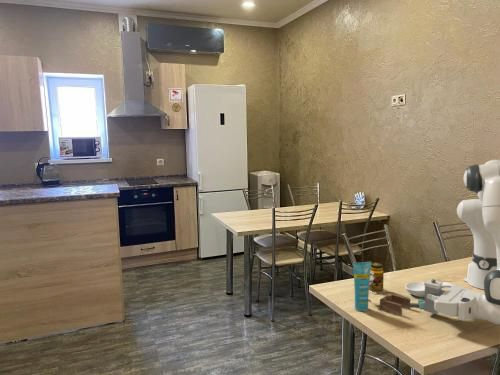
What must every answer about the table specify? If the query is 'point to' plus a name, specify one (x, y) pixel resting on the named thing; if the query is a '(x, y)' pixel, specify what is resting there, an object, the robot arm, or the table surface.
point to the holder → (394, 303)
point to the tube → (361, 284)
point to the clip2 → (421, 304)
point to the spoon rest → (421, 288)
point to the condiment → (377, 278)
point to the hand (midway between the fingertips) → (430, 293)
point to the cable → (414, 304)
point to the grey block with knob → (435, 289)
